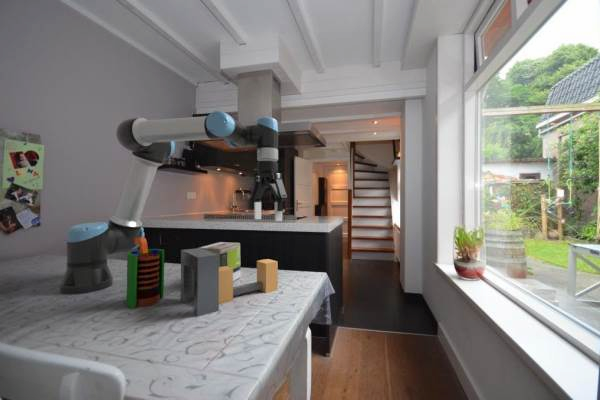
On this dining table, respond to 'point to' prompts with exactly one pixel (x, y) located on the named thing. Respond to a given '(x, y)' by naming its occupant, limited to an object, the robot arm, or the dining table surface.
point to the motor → (144, 275)
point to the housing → (200, 280)
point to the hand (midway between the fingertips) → (267, 220)
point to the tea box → (227, 256)
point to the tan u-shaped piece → (265, 283)
